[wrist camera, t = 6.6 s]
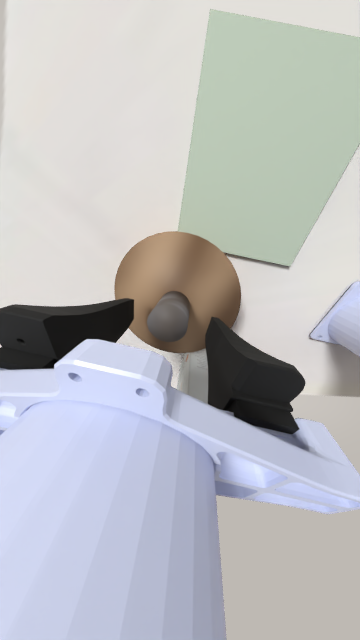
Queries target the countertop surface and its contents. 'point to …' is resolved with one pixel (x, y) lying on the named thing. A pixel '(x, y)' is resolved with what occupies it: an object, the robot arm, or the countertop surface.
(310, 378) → the countertop surface
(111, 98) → the countertop surface
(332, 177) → the mat
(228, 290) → the lid
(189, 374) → the small box
